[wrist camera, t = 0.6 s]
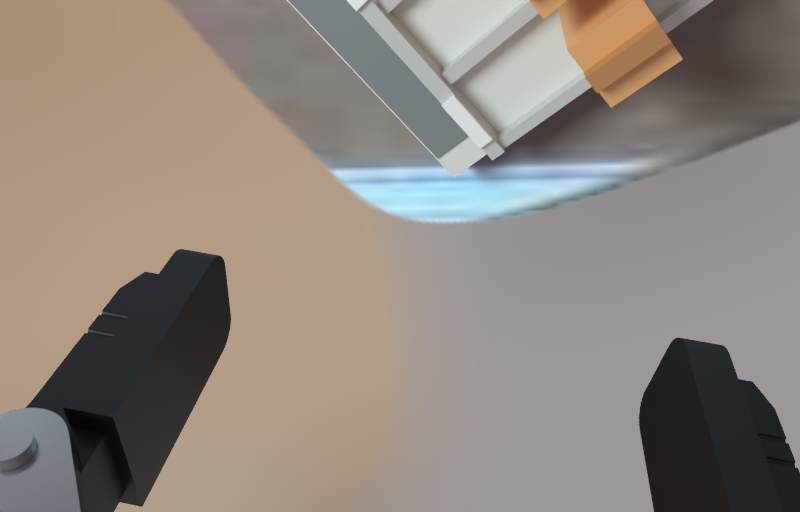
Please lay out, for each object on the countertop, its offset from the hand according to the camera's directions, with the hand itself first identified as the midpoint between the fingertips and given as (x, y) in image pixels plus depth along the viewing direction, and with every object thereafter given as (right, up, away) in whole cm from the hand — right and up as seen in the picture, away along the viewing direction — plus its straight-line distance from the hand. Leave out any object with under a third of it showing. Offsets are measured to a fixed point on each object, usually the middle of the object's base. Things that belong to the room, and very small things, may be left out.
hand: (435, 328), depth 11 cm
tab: (+9, +12, +17) cm, 23 cm away
